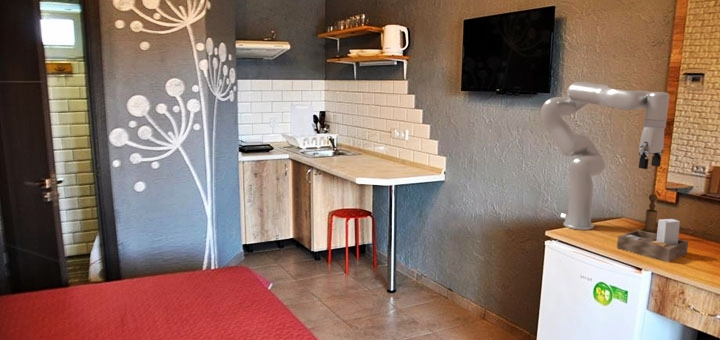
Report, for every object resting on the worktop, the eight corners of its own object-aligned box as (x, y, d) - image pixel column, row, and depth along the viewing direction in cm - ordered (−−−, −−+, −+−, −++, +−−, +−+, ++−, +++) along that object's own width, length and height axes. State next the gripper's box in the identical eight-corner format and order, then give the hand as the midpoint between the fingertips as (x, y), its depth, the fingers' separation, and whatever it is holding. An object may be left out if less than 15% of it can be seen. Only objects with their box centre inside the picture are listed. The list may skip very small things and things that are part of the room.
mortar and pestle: (660, 239, 221) (664, 196, 218) (643, 238, 222) (647, 195, 219) (654, 234, 227) (659, 192, 224) (638, 233, 229) (642, 192, 226)
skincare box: (668, 248, 206) (671, 218, 204) (677, 252, 201) (681, 221, 199) (654, 249, 205) (657, 218, 202) (663, 253, 200) (666, 222, 198)
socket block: (616, 248, 209) (618, 235, 208) (636, 241, 218) (637, 228, 217) (668, 262, 194) (669, 247, 193) (686, 254, 203) (688, 240, 202)
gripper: (656, 122, 217) (650, 163, 221) (633, 124, 207) (628, 167, 211) (675, 123, 211) (669, 166, 215) (653, 126, 201) (647, 171, 205)
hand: (649, 167), depth 213 cm, fingers open, 9 cm apart
